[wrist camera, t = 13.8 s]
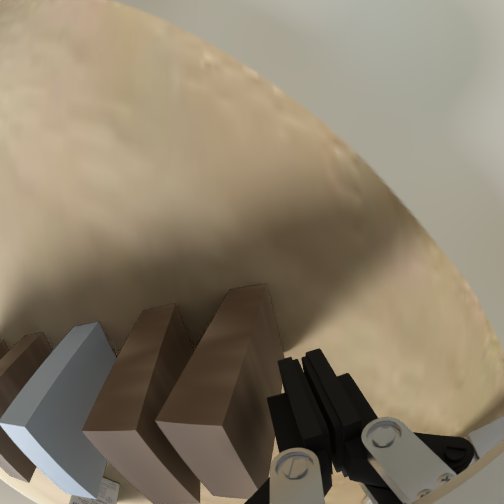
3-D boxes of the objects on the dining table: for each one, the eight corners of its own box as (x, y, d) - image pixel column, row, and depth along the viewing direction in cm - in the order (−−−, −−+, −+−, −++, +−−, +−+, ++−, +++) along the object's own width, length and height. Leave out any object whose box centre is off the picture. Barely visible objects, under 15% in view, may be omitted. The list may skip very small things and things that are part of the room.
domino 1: (42, 332, 14) (-32, 414, 6) (76, 391, 16) (29, 482, 7) (25, 335, 14) (-46, 410, 6) (57, 392, 16) (9, 475, 7)
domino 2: (98, 321, 15) (24, 427, 6) (132, 387, 16) (96, 499, 7) (74, 326, 15) (-3, 422, 6) (108, 389, 16) (66, 493, 7)
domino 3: (175, 302, 15) (135, 430, 6) (204, 374, 16) (200, 503, 7) (142, 310, 15) (81, 430, 6) (173, 380, 16) (153, 504, 7)
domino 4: (266, 283, 14) (222, 425, 6) (285, 360, 16) (264, 499, 7) (229, 289, 15) (154, 420, 6) (252, 363, 16) (213, 495, 8)
